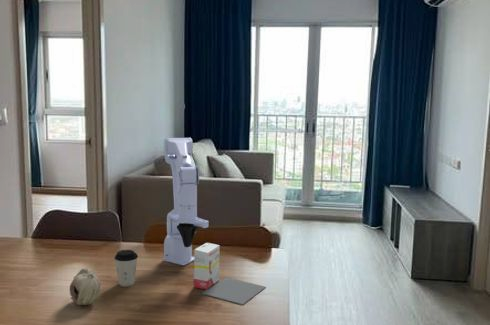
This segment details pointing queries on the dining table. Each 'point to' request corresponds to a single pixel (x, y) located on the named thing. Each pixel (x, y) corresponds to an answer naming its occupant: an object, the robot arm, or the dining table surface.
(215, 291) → the mat
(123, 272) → the coffee cup
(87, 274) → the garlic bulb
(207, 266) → the ink box
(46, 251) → the dining table surface
